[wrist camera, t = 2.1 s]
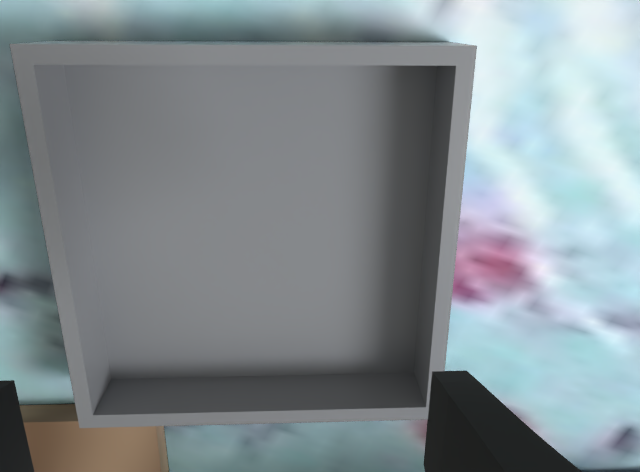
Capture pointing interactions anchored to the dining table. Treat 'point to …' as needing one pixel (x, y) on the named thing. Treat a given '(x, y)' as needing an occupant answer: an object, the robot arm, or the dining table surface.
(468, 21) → the dining table surface
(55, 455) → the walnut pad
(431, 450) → the robot arm
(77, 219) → the charcoal tray
